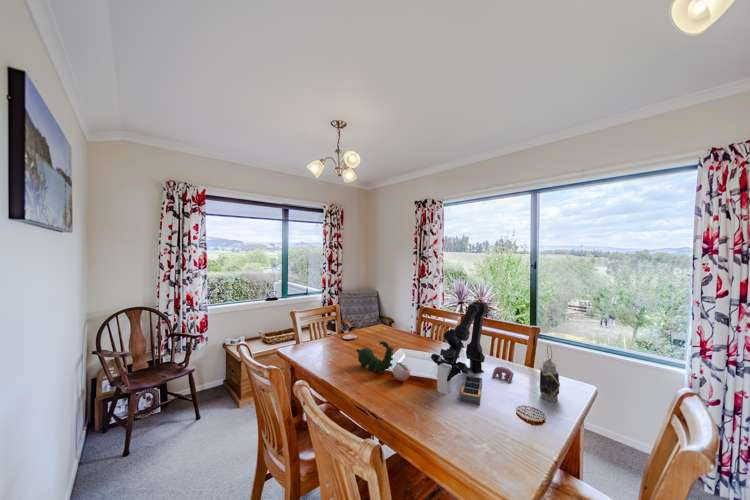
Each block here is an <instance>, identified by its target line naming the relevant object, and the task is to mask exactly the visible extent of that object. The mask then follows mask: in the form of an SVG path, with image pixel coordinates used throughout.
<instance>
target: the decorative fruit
mask: <svg viewBox="0 0 750 500" xmlns="http://www.w3.org/2000/svg"><path fill="white" fill-rule="evenodd" d="M392 374H393V376H394V378H395V379H396V380H398V381H400V382H403V381H406V380H408V379H409V377H410V375H411V369H410V367H409V366H408V365H406V364H403V363H402V361H401V362H398V361H397V362H395V365H394V367H393V368H392Z"/></svg>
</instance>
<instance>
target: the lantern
mask: <svg viewBox="0 0 750 500" xmlns="http://www.w3.org/2000/svg"><path fill="white" fill-rule="evenodd" d="M549 348H550V352H551V357H550V356H549V351H548V350H549ZM546 353H547V360H545V361H542V366H541V367H540V368H539V370H540V372H539V391H540V397H541V398H542V399H543V400H545V401H547V402H552V403H553V402H554V403H555V402H557V401H559V400H558V395H559V394H560V386H561V382H560V377H559V376H560V375H559V371H558V370H557V368H556V367H557V364H556V363H554V362H553V361H552V358H553V351H552V347H551V345H550V344H547V349H546Z"/></svg>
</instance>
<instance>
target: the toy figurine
mask: <svg viewBox="0 0 750 500" xmlns="http://www.w3.org/2000/svg"><path fill="white" fill-rule="evenodd" d="M379 345H380V346H381V345H382V346H383V347H384V348H385V353H384V356H383V359H381V358H380V359H379V358H378V357H377V356H376V355H375V354H374V351H373V350H372V349H371V348H369V347H364V348H361V349H357V348H356V349H355V351H356V353H357V359H358V360H357V361H358V363H360V366H361V367H362V368H366V367H367V369H368V371H372V369H374V373H376V374H377V373H378V372H381V373H382V374H383V373H385V371H387V370H386V369H388V370H389V369H390V367H393V363H391V361H393V360H394V358H393V355H394V352H393V351H394V348H392V347H391V346H389V343H388V342H386V341H385V340H383V341H380V342H379Z"/></svg>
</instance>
